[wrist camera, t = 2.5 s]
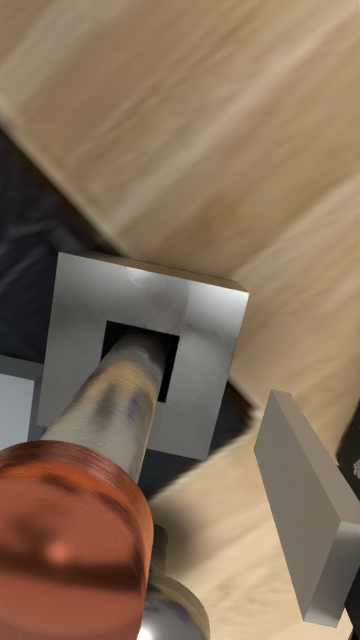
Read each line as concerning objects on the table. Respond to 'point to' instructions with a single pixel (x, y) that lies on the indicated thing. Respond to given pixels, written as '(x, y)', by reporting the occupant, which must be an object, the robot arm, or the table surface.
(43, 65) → the table surface
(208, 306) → the block
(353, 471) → the ink box
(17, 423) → the tray
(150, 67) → the table surface
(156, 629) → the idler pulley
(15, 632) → the pin
